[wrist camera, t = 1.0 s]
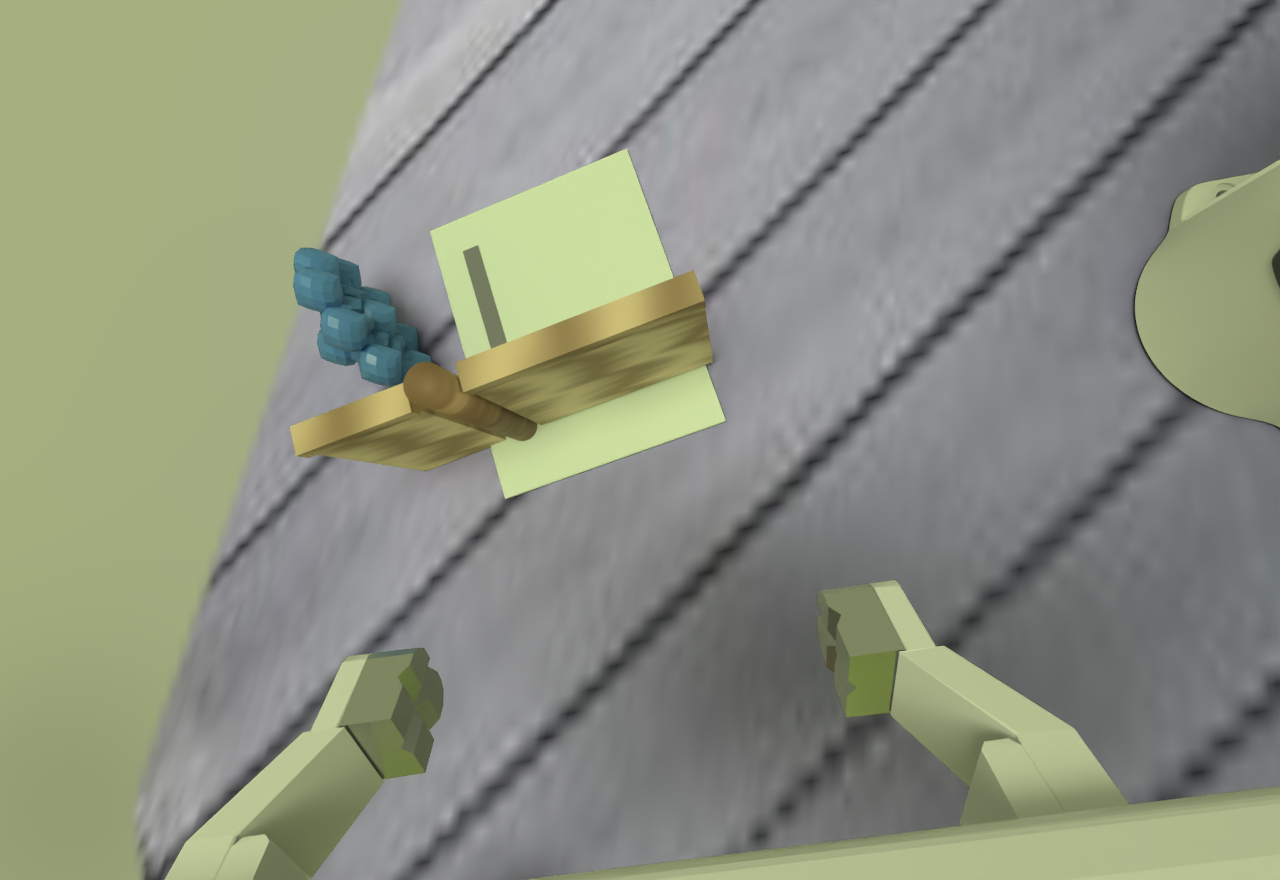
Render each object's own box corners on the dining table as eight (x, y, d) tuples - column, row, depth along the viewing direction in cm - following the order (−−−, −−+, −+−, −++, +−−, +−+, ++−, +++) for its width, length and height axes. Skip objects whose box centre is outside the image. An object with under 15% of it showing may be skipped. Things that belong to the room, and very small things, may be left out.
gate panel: (706, 343, 43) (693, 270, 30) (714, 365, 43) (704, 300, 30) (535, 407, 45) (454, 362, 32) (542, 428, 44) (463, 392, 32)
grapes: (342, 322, 50) (220, 261, 38) (405, 278, 49) (301, 203, 38) (400, 433, 47) (289, 405, 36) (467, 389, 47) (377, 345, 35)
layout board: (627, 151, 47) (626, 147, 47) (725, 421, 43) (725, 420, 43) (432, 233, 49) (429, 230, 49) (507, 498, 45) (504, 498, 45)
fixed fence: (534, 407, 46) (438, 355, 31) (542, 435, 45) (449, 396, 31) (420, 450, 47) (275, 418, 32) (427, 478, 46) (283, 459, 32)
